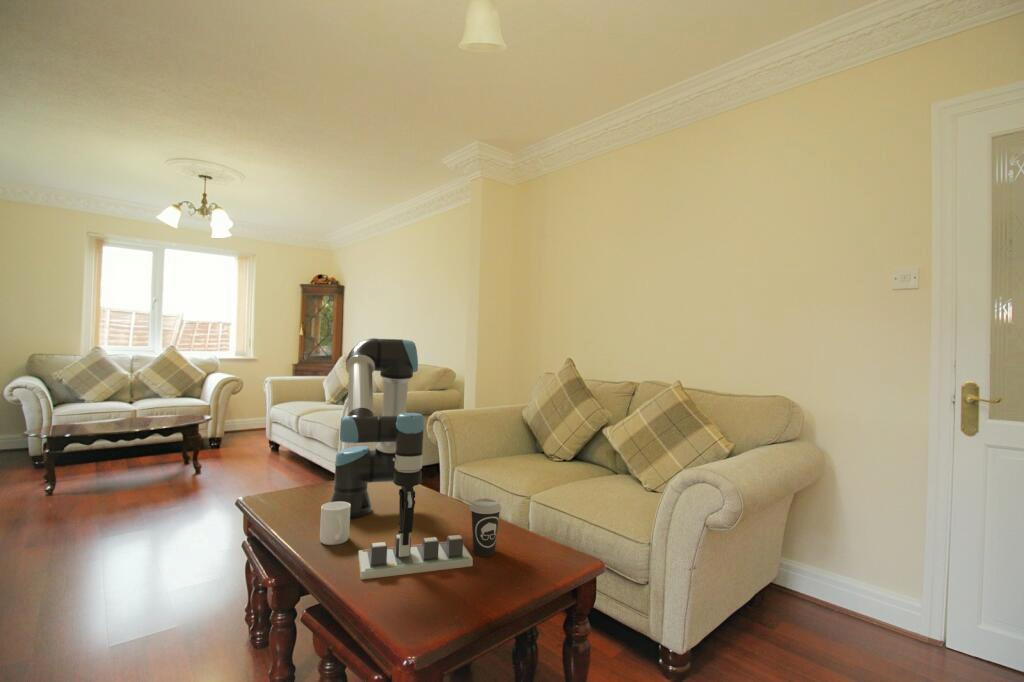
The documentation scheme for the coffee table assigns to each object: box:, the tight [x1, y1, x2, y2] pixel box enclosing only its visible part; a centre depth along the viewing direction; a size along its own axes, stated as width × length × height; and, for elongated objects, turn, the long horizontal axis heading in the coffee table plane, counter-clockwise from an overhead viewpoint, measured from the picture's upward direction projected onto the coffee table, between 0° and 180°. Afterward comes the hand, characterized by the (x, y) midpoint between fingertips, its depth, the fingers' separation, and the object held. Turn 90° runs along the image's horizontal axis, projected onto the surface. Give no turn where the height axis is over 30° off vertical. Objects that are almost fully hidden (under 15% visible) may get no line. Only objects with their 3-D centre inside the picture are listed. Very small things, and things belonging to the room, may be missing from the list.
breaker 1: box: [370, 541, 388, 565], centre depth 129 cm, size 3×4×5 cm
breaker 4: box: [446, 534, 464, 557], centre depth 136 cm, size 3×4×5 cm
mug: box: [319, 501, 351, 546], centre depth 147 cm, size 9×12×11 cm
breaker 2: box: [394, 534, 412, 556], centre depth 135 cm, size 3×4×5 cm
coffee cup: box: [469, 497, 502, 557], centre depth 144 cm, size 10×10×15 cm
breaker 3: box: [421, 536, 440, 559], centre depth 133 cm, size 3×4×5 cm
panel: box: [357, 540, 474, 580], centre depth 135 cm, size 14×30×2 cm, turn 111°
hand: (404, 555), depth 132 cm, fingers closed
